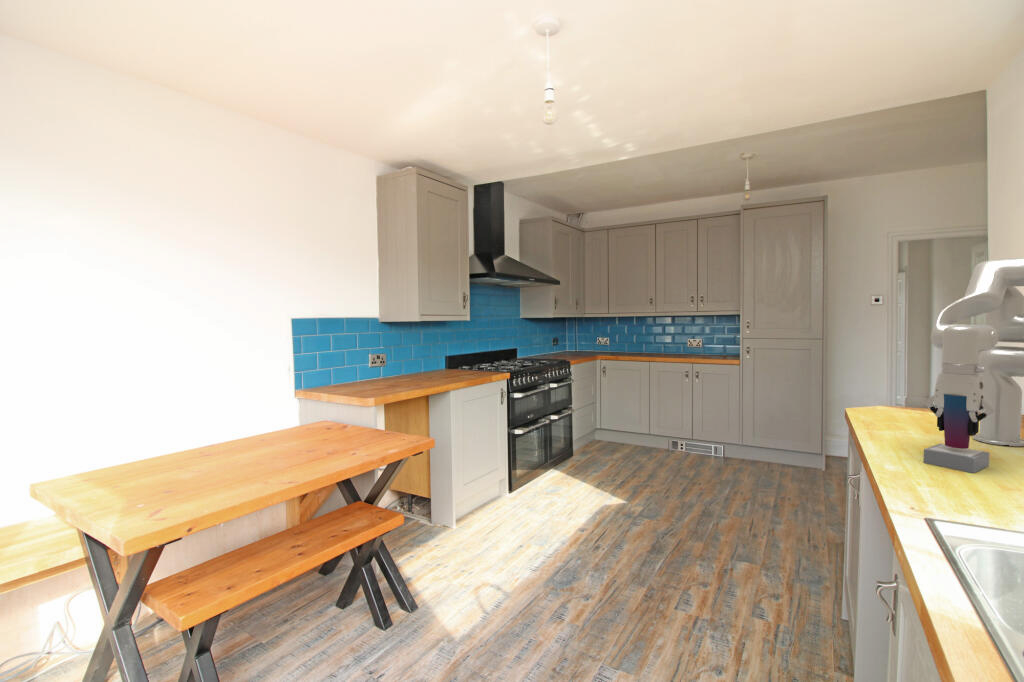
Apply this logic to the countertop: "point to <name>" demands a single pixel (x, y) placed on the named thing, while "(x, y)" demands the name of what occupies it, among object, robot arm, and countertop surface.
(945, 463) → the riser
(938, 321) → the robot arm
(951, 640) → the countertop surface
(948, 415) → the cup
